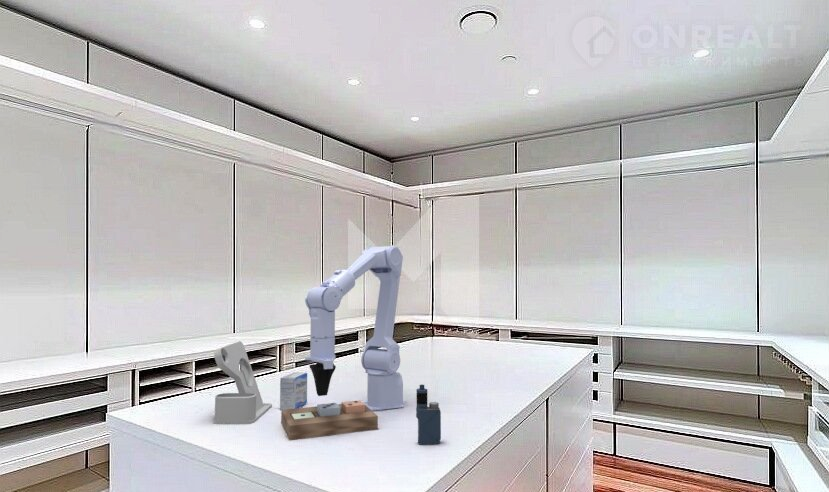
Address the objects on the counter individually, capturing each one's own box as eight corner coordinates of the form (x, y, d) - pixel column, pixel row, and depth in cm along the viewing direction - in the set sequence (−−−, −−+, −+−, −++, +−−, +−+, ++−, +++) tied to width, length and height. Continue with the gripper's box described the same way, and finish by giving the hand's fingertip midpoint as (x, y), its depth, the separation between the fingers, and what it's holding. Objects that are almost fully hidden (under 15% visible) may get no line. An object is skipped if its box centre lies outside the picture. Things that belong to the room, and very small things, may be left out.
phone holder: (252, 424, 113) (254, 348, 114) (209, 424, 113) (212, 348, 114) (273, 405, 130) (274, 339, 131) (236, 406, 130) (238, 339, 131)
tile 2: (359, 408, 117) (359, 399, 117) (364, 413, 113) (365, 404, 113) (341, 410, 115) (341, 401, 115) (346, 415, 111) (346, 406, 111)
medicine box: (294, 411, 125) (295, 377, 125) (279, 410, 126) (280, 377, 126) (307, 403, 132) (308, 372, 133) (292, 402, 133) (293, 371, 134)
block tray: (360, 413, 122) (360, 401, 122) (377, 429, 109) (377, 415, 109) (281, 422, 114) (281, 409, 114) (289, 440, 101) (289, 425, 101)
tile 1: (310, 420, 112) (311, 411, 112) (314, 425, 108) (314, 416, 108) (291, 422, 111) (291, 413, 111) (294, 428, 106) (294, 418, 106)
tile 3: (335, 411, 115) (335, 402, 115) (340, 415, 111) (340, 406, 111) (316, 413, 113) (317, 403, 113) (320, 418, 109) (320, 408, 109)
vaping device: (415, 441, 101) (415, 383, 102) (440, 440, 101) (439, 383, 102) (416, 445, 98) (416, 386, 99) (441, 444, 99) (441, 386, 100)
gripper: (301, 334, 118) (300, 390, 117) (311, 341, 104) (310, 404, 103) (329, 333, 120) (328, 387, 119) (342, 339, 107) (341, 400, 106)
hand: (322, 395), depth 112 cm, fingers closed
